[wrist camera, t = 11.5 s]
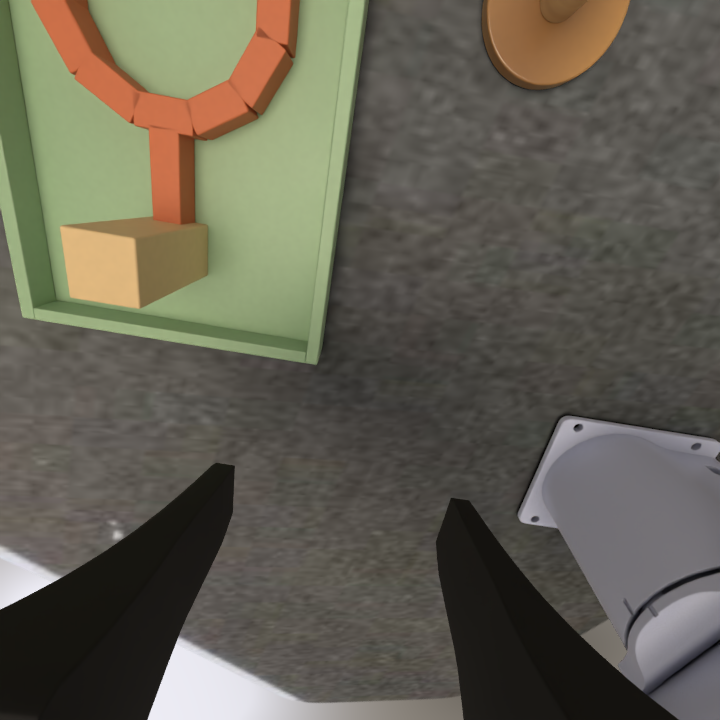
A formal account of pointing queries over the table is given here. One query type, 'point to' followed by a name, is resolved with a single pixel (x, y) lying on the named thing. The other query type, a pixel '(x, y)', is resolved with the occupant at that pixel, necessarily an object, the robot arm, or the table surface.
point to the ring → (161, 153)
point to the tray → (212, 169)
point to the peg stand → (548, 37)
